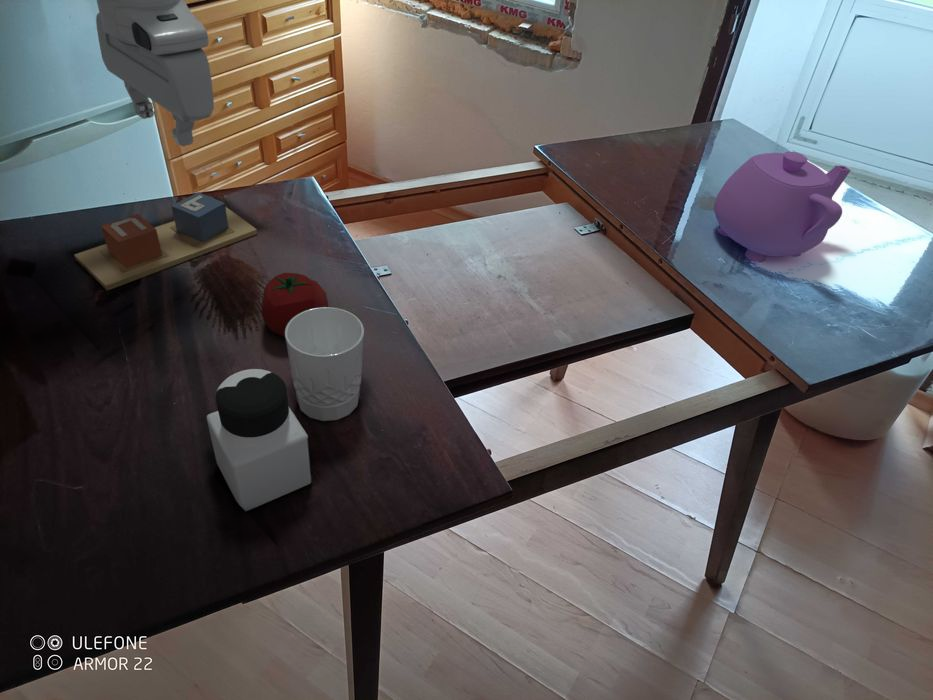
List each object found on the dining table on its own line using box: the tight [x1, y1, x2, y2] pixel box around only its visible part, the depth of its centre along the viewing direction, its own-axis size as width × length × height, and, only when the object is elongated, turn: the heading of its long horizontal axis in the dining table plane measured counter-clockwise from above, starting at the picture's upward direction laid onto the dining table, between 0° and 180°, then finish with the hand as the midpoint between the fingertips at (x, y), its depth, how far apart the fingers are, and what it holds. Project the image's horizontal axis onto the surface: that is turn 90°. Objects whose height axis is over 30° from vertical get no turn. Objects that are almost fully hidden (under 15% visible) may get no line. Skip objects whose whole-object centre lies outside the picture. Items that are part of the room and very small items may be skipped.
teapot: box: [713, 151, 852, 263], centre depth 106 cm, size 20×20×15 cm
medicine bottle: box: [206, 368, 313, 512], centre depth 64 cm, size 7×7×12 cm
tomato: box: [261, 272, 329, 338], centre depth 83 cm, size 8×8×7 cm
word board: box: [73, 206, 258, 291], centre depth 95 cm, size 9×22×1 cm, turn 136°
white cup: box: [284, 306, 365, 422], centre depth 73 cm, size 8×8×10 cm
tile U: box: [100, 213, 162, 268], centre depth 91 cm, size 5×5×4 cm
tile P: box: [171, 191, 229, 242], centre depth 96 cm, size 5×5×4 cm
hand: (164, 129), depth 87 cm, fingers open, 8 cm apart
